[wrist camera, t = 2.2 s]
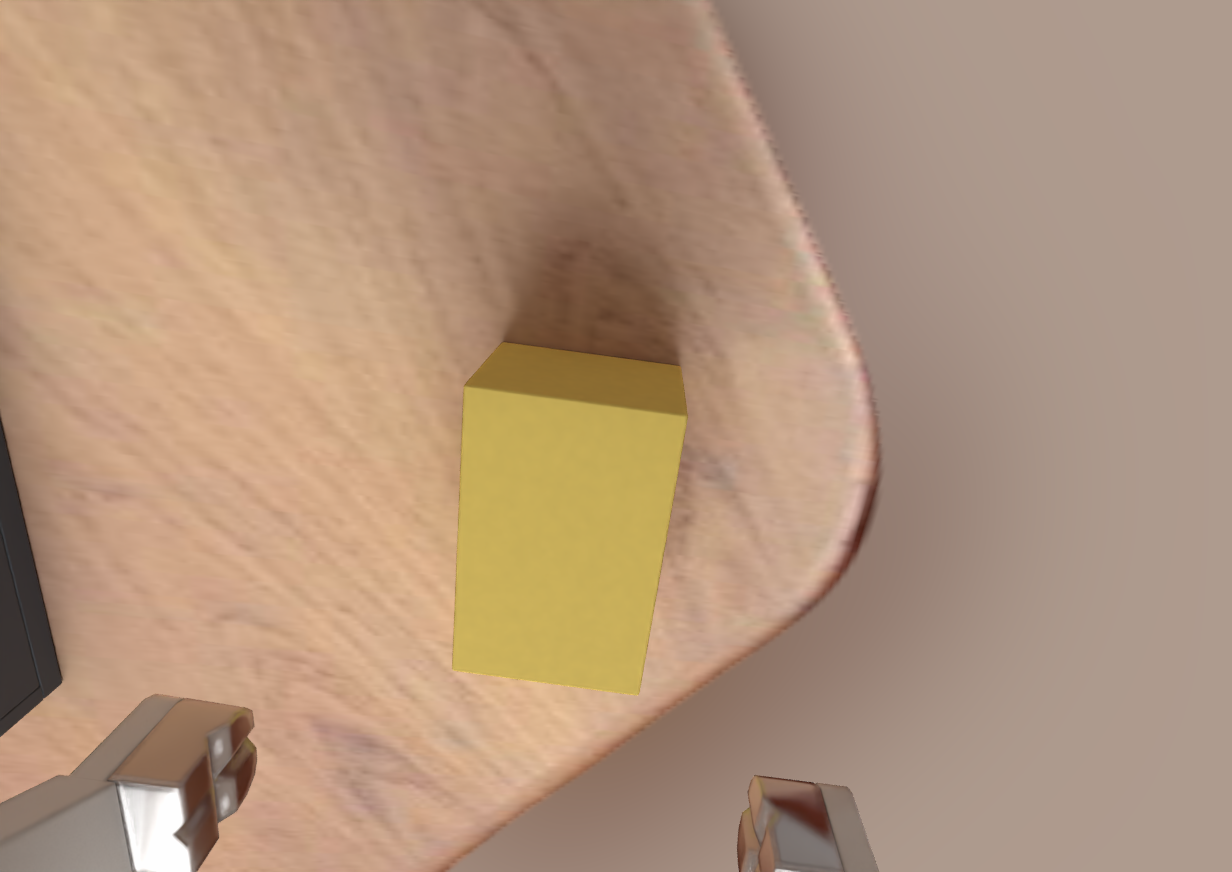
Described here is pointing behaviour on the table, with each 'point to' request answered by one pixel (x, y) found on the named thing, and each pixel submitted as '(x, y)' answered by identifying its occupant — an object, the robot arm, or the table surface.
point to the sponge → (564, 514)
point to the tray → (20, 613)
